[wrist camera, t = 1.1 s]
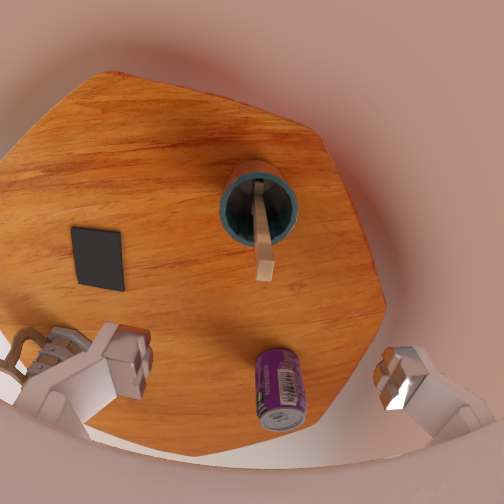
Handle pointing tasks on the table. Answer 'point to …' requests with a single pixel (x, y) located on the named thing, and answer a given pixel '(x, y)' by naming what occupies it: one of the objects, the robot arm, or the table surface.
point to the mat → (98, 258)
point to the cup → (274, 195)
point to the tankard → (44, 351)
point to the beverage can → (279, 390)
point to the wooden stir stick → (261, 234)
